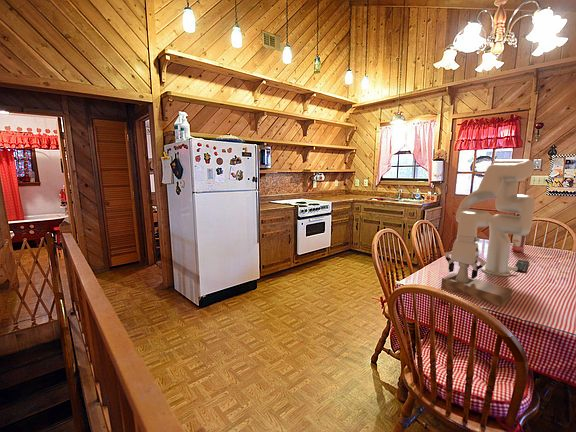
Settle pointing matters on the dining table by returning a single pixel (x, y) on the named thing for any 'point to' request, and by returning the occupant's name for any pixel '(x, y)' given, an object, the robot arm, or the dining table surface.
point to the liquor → (518, 243)
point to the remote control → (522, 266)
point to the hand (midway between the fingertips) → (462, 274)
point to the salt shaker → (462, 273)
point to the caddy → (479, 290)
